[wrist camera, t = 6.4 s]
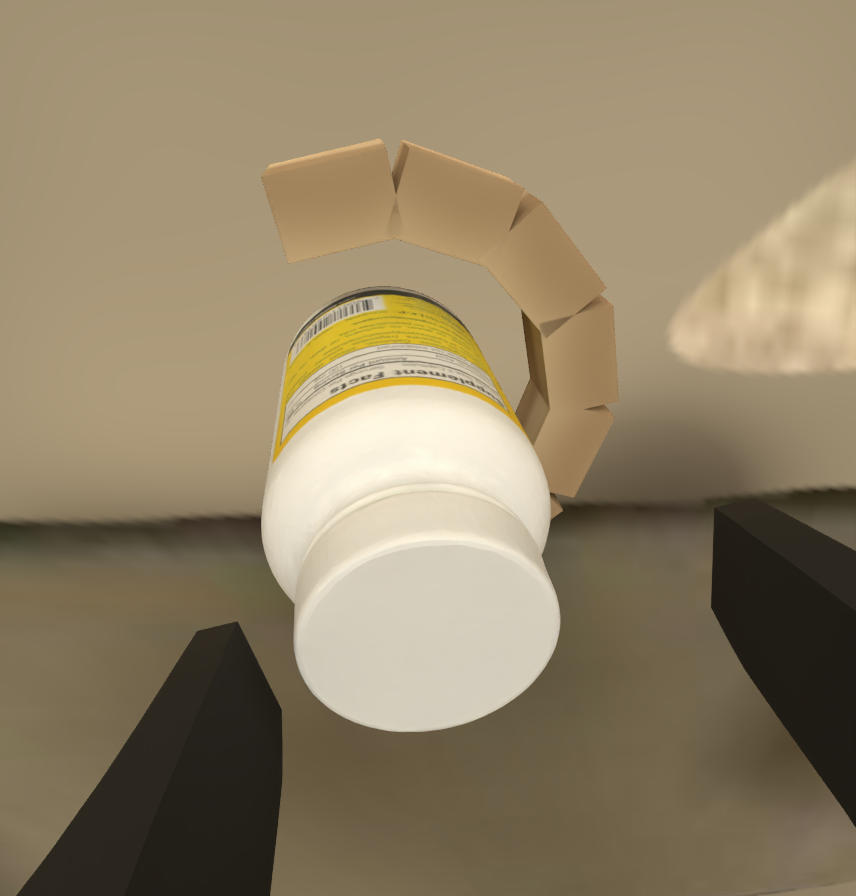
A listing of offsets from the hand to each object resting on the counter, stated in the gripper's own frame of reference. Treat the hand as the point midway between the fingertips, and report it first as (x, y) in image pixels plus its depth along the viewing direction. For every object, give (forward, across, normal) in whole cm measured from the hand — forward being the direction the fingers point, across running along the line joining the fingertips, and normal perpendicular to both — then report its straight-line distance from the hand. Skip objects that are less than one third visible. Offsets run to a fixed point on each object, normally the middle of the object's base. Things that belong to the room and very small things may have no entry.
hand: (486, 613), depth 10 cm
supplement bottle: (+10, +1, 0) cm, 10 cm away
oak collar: (+9, -1, 0) cm, 9 cm away
